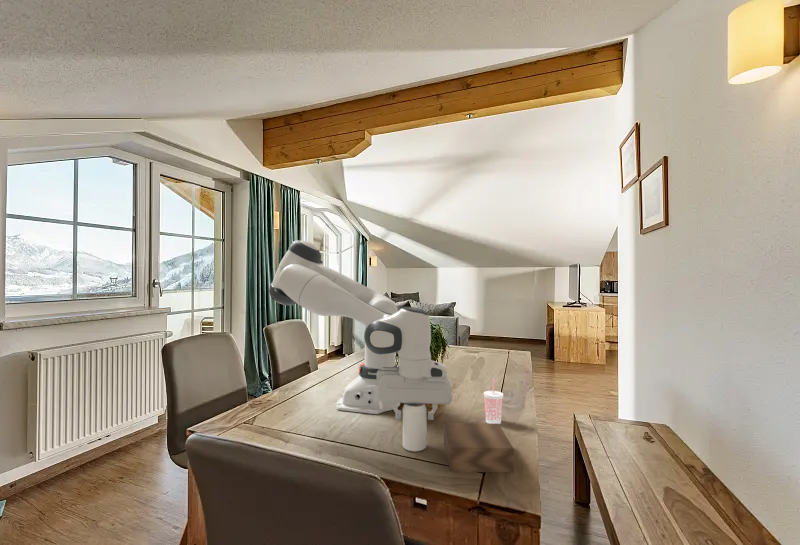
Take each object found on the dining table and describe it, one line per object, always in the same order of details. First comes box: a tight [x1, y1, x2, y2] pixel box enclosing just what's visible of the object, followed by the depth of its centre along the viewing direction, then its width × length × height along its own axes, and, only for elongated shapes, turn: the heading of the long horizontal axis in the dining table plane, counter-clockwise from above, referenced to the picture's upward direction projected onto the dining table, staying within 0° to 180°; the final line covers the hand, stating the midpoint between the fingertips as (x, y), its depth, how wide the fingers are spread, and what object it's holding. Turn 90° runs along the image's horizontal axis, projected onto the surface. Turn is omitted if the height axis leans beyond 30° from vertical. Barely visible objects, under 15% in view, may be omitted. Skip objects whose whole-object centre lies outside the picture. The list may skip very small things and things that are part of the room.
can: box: [402, 403, 428, 453], centre depth 103 cm, size 6×6×12 cm
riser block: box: [443, 422, 514, 473], centre depth 98 cm, size 15×15×6 cm
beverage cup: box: [483, 377, 504, 425], centre depth 121 cm, size 6×6×14 cm
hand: (414, 418), depth 103 cm, fingers open, 7 cm apart
